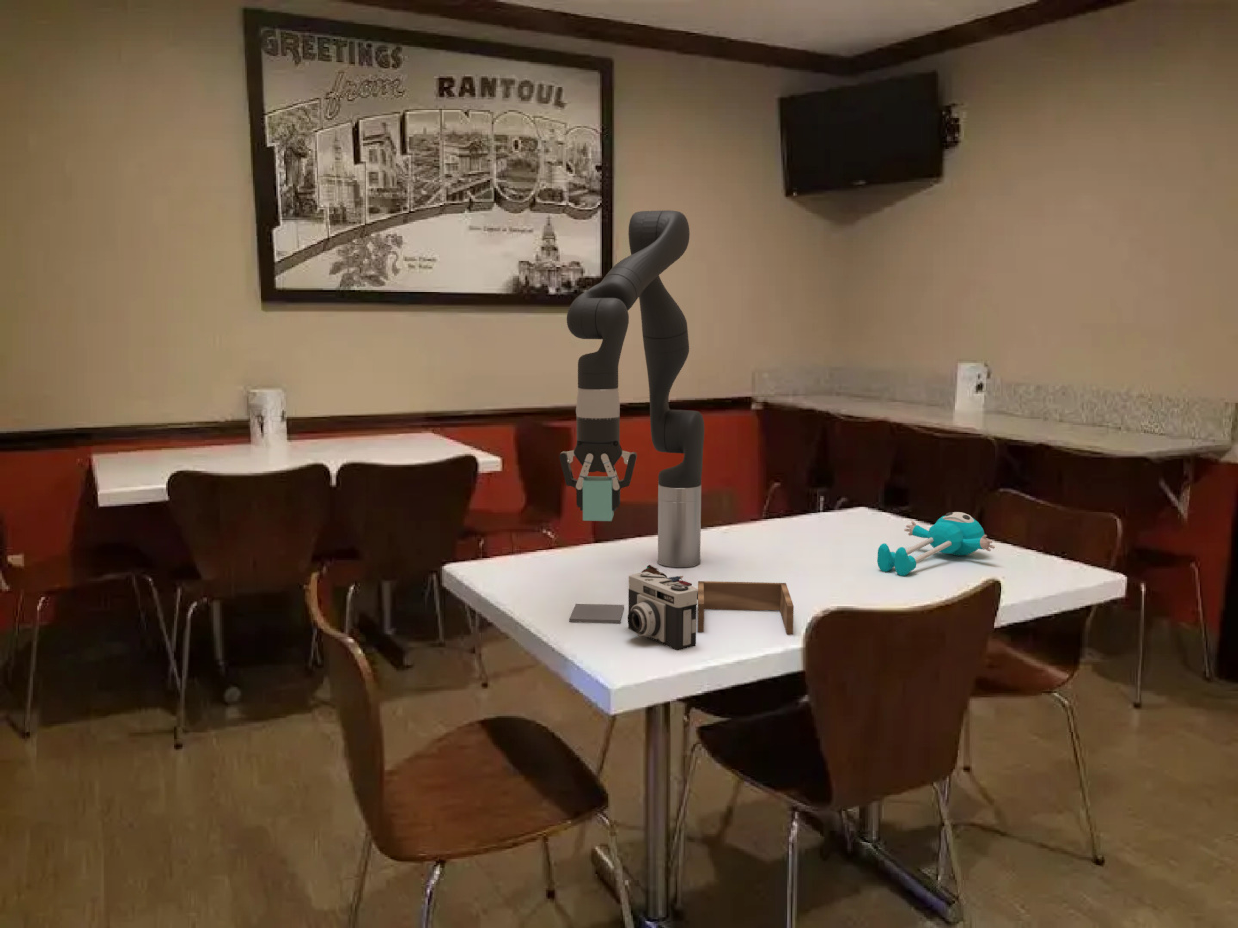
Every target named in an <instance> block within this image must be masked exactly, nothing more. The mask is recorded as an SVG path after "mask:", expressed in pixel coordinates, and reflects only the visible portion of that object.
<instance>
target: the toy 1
mask: <svg viewBox="0 0 1238 928" xmlns="http://www.w3.org/2000/svg"><path fill="white" fill-rule="evenodd" d="M642 572H649V573H652V574H656V575H662V576H665V577H666V578H669V579H671V582H679V584H683V585H686V586H688V587H691V588H694V589H696V590H697V601H698V587H695V586H693V584H692V582H688V581H686V580H683V578H684V576H683V575H679V576H670V577H668V576H667V575H666V574H665V573H664V572H660V571H659V569H658V567H657V568H656V567H654V566H653V565H651V564H648V565H646V568H644V569H643V570H642V571H640V573H642Z"/></svg>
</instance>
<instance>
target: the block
mask: <svg viewBox="0 0 1238 928" xmlns="http://www.w3.org/2000/svg"><path fill="white" fill-rule="evenodd" d="M612 490H613V487H612V480H610V479H609V477H608V476H603V475H601V476H600V475H599V476H595V475H594V476H593V475H592V476H591V475H589V476H588V475H587V478H586V479H585V480H583V511H582V521H587V522H589V521H590V522H592V521H593V522H595V521H596V522H612V521H613V518H614V514H615V513H614V512H615V511H612Z"/></svg>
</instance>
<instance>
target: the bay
mask: <svg viewBox="0 0 1238 928" xmlns="http://www.w3.org/2000/svg"><path fill="white" fill-rule="evenodd" d="M697 589H698V600H697V632H698V633H704V632H705V610H724V611H725V610H726V611H728V610H730V611H731V610H732V611H760V610H774V611H773V612H776V611H775V610H780V611H779V612H780V614H781V615H780V616H781V619H782V622H783V626H784V628H785V633H786V635H794V608H795V607H794V602H793V600H792V597H791V594H790V592H789V588H788V585H787V583H786V582H756V581H755V582H754V581H751V582H749V581H712V580H711V581H710V580H709V581H708V580H704V581H703V580H702V581H701V580H697Z"/></svg>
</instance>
